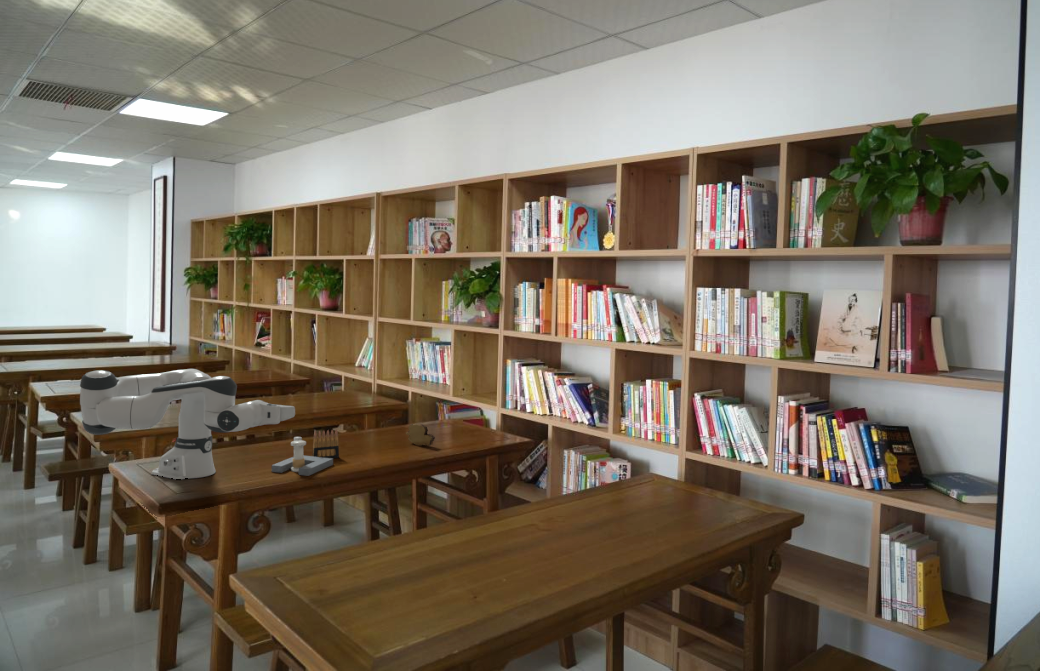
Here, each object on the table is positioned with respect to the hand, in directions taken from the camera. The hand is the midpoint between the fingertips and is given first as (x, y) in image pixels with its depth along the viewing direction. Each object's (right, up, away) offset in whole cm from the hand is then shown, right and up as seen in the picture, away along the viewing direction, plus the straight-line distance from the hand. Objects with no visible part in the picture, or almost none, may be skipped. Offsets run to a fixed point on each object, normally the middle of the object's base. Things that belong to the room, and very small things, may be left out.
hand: (279, 406), depth 262 cm
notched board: (+3, -26, +18) cm, 32 cm away
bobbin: (+2, -26, +15) cm, 30 cm away
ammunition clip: (+8, -25, +35) cm, 44 cm away
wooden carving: (+43, -24, +65) cm, 81 cm away
